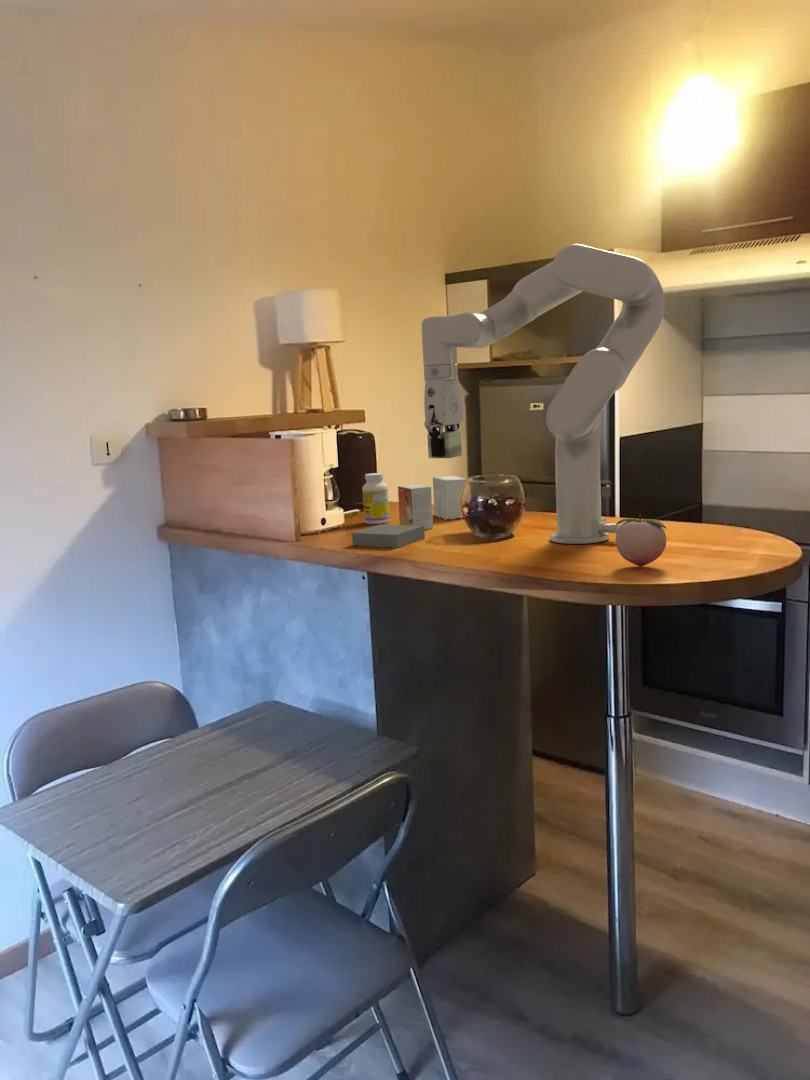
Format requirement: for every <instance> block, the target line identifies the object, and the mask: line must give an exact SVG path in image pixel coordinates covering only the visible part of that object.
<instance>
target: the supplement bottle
mask: <svg viewBox="0 0 810 1080" xmlns="http://www.w3.org/2000/svg"><path fill="white" fill-rule="evenodd" d="M364 479H365V481H366V482H365V483H364V484H363V486H362V487H361V489H362V491H361V492H362V505H363V517H364V518H363V519H364V523H365V524H367V525H379V524H383V523H384V524H387V523H389V521H390V508H389V507H390V506H389V505H390V504H389V488H388V487H389V486H388V484H387V483H385V482H384V473H382V472H374V473H373V472H372V473H365V475H364Z"/></svg>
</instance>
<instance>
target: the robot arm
mask: <svg viewBox="0 0 810 1080" xmlns="http://www.w3.org/2000/svg"><path fill="white" fill-rule="evenodd" d="M582 292H584V293H585V292H586V293H589V294H593V295H596V296H601V297H605V298H608V299H613V300H616V301H620V302H621V303H622V307H621V309H620V313H619V314H618V316H617V317H616V319H614V321H613V323H612V324H611V326H610V327H609V329H608V331H607V332H606V334H605V335H604V337H602V340H601V341H600V343H599V344H598V346H596V348H593V349H591V350H589V351H587V352H586V353H584V355H582V356H581V358H579V360H578V361H577V363H576V364H575V365H574V367H573V369H572V370H571V372H570V373H569V375H567V378H566V379H565V380H564V382H563V384H561V386H560V389H559V390H558V391H557V393H556V394H555V396H554V397H553V399H552V400H551V402H550V404H549V405H548V408H547V410H546V417H545V418H546V426H547V428H548V430H549V431H550V433H551V434H552V435H553V436H554V437H555V444H554V445H555V446H554V452H555V453H554V458H555V459H554V461H555V462H554V463H555V470H554V472H555V473H554V474H555V500H556V502H555V503H556V506H555V507H556V531H554V532H552V533H551V534H549V535H550V536H549V539H550V541H551V542H554V543H557V544H566V545H568V544H569V545H584V544H585V545H587V544H595V543H597V544H598V543H602V542H605V541H607V540H609V539H610V534H616V533H617V530H618V528H619V527H620V526H621V525H620V524H618V525H616V524H617V523H608V522H607V521H606V517H605V516H604V517H603V516H602V498H601V497H602V495H601V493H602V492H601V488H602V487H601V435H602V432H601V431H602V430H601V429H602V414H601V413H602V411H603V410H604V409H605V407H606V405H607V404H608V403H609V401H610V399H611V398H612V396H614V394H615V392H617V391H619V390H620V389H621V388H622V387H623V386H624V384H625V382H627V381H626V380H627V379H628V377H629V376H630V374H631V372H632V370H633V369H634V367H635V366H636V364H637V363H638V362H639V360H640V358H641V357H642V356H643V353H644V352H645V351H646V349H647V347H648V346H649V344H650V342H651V341H652V340H653V337H654V336H655V334H656V333H657V332H658V329H659V328H660V325H661V324H662V321H663V317H664V314H665V307H666V306H665V305H666V302H665V301H666V300H665V299H666V298H665V294H664V293H665V292H664V289H663V286H662V284H661V282H660V280H659V278H658V276H657V275H656V273H655V271H654V270H653V268H652V267H651V266H650V265H649V264H648V263H646V262H645V261H644V260H642V259H640V258H638V257H635V256H630V255H627V254H621V253H619V252H617V253H616V252H613V251H608V250H604V249H599V248H595V247H592V246H588V245H585V244H581V243H580V244H579V243H572V244H569V245H566V246H564V247H562V248H561V249H560V250H559V251H558V252H557V253H556V255H555V257H554V258H553V260H552V261H550V262H549V263H547V264H546V265H544V266H542V267H540V268H539V269H537V270H535V271H534V272H532V273H530V274H528V275H526V276H524V277H523V278H521V279H520V280H518V282H516V283H515V285H514V287H513V288H512V290H511V291H510V293H508V294H507V295H506V296H505V297H504V298H503V299H501V300H500V301H497V303H495V304H493V305H492V306H489V307H488V308H486V309H484V310H483V311H481V312H479V313H478V312H462V313H457V314H454V315H442V316H441V315H437V316H429V317H426V318H424V319H423V320H422V322H421V344H422V345H421V347H422V360H423V378H424V382H425V383H424V394H423V395H424V400H423V402H424V416H425V417H424V418H425V420H424V424H423V425H424V427H425V428H426V431H427V434H429V438H430V439H431V455H432V457H444V456H445V443H444V438H442V436H443V432H453V431H459V429H460V425H461V423H462V422H463V421H464V408H463V407H464V406H463V398H462V390H461V386H460V385H461V384H460V380H459V370H458V369H459V368H458V367H459V366H458V349H457V348H463V349H464V348H465V349H483V348H484V349H485V348H487V347H490V346H491V345H493V344H495V343H497V342H498V341H501V340H502V339H503V338H506V337H507V336H509V335H511V334H513V333H514V332H516V331H517V330H519V329H521V328H523V327H524V326H526V325H527V324H528V323H531V322H532V321H534V320H535V319H536V318H538V317H539V316H542V315H543V314H545V313H546V312H549V311H550V310H552V309H554V308H555V307H557V306H559V305H561V304H563V303H565V302H566V301H568V300H570V299H571V298H573V297H575V296H577V295H579V294H581V293H582Z"/></svg>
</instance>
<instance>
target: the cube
mask: <svg viewBox="0 0 810 1080" xmlns="http://www.w3.org/2000/svg"><path fill="white" fill-rule="evenodd" d="M442 438H444V443H445V456H444V457H432V455H431V439H430V438H429V433H427V452H428V453H427V454H428V459H453V458H458V457H461V456H463V453H462V433H461V430H460V431H459V430H458V431H453V432H445V431H443V436H442Z"/></svg>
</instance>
